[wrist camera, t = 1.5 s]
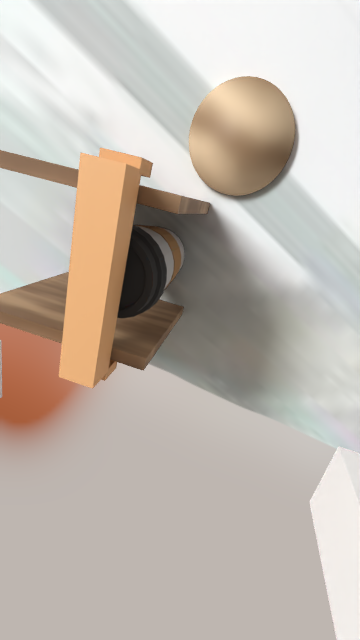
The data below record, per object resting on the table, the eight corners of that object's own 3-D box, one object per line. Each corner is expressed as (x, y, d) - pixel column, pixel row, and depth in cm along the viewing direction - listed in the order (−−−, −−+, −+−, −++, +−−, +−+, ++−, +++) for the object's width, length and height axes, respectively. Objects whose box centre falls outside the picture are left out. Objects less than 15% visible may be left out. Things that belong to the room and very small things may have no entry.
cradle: (77, 169, 38) (-31, 142, 23) (209, 203, 36) (181, 196, 21) (66, 280, 43) (-27, 314, 29) (181, 315, 41) (143, 370, 26)
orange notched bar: (114, 154, 23) (81, 139, 18) (152, 163, 22) (128, 150, 18) (87, 358, 29) (58, 383, 25) (115, 367, 29) (91, 395, 25)
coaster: (204, 69, 32) (203, 66, 31) (311, 90, 30) (312, 88, 30) (180, 183, 36) (178, 182, 35) (273, 206, 34) (273, 205, 34)
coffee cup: (134, 286, 41) (74, 324, 27) (125, 221, 38) (55, 226, 25) (195, 284, 39) (164, 323, 25) (191, 216, 37) (154, 218, 23)
